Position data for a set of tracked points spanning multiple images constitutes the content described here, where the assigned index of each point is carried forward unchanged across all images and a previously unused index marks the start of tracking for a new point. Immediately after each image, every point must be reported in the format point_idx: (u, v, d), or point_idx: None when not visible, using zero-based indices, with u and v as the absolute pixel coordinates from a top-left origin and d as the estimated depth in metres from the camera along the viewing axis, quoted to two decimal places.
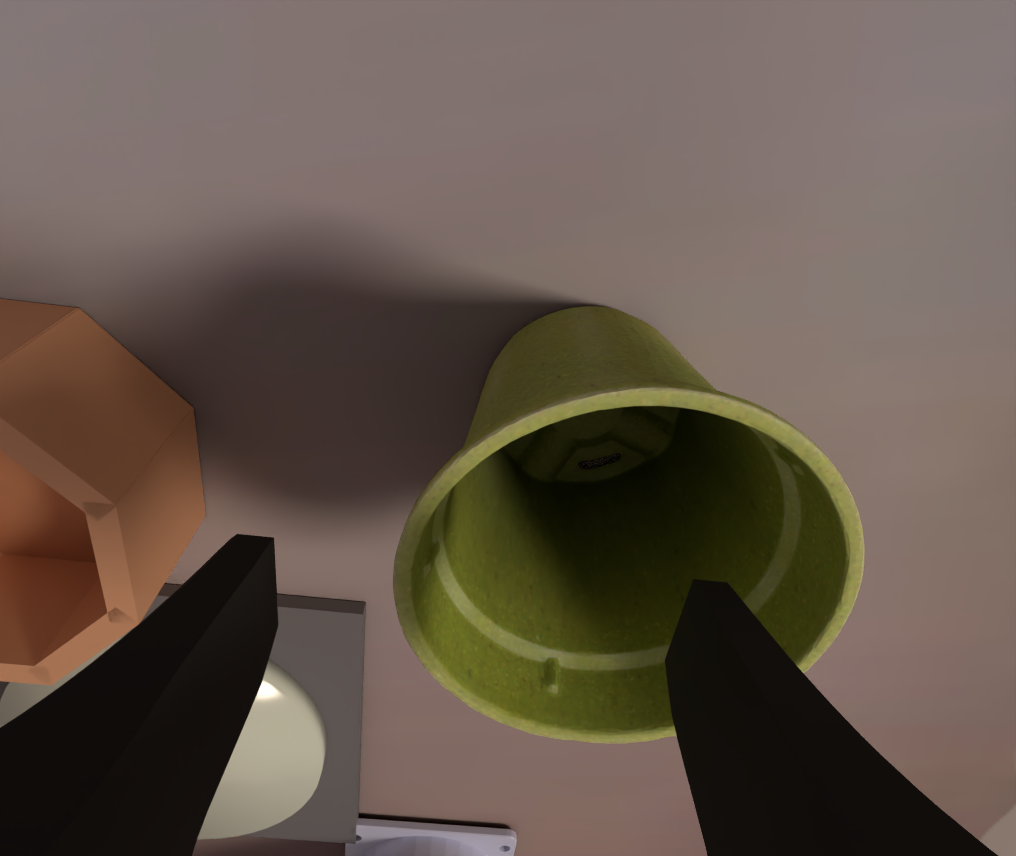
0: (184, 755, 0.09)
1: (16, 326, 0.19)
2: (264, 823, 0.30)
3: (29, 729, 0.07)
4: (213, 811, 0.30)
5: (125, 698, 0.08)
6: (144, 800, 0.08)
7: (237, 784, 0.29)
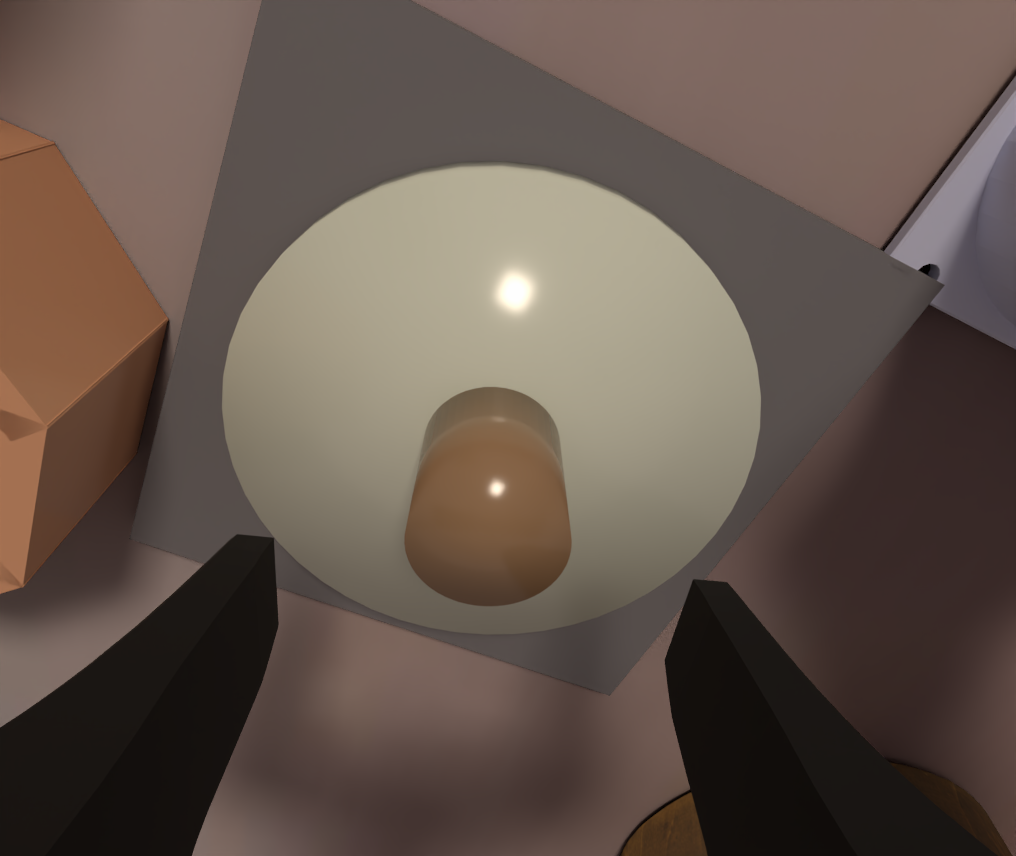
0: (182, 755, 0.09)
1: None
2: (745, 393, 0.16)
3: (29, 728, 0.07)
4: (671, 455, 0.17)
5: (125, 698, 0.08)
6: (144, 800, 0.08)
7: (619, 383, 0.16)
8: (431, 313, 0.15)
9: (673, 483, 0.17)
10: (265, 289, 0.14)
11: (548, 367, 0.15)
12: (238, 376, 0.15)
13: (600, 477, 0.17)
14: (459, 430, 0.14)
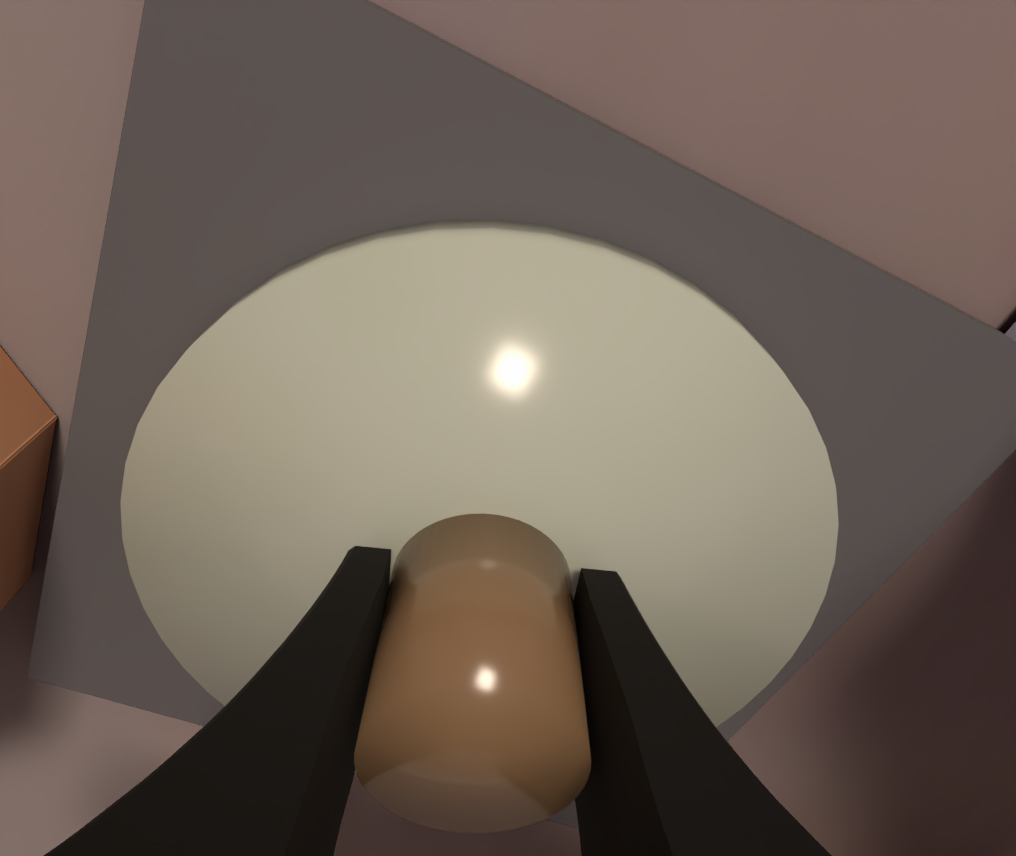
0: (335, 766, 0.09)
1: None
2: (818, 520, 0.12)
3: (217, 744, 0.07)
4: (717, 594, 0.13)
5: (298, 712, 0.08)
6: (317, 813, 0.08)
7: (650, 509, 0.12)
8: (397, 423, 0.11)
9: (718, 625, 0.13)
10: (167, 393, 0.11)
11: (556, 490, 0.11)
12: (141, 501, 0.12)
13: None
14: (434, 589, 0.10)
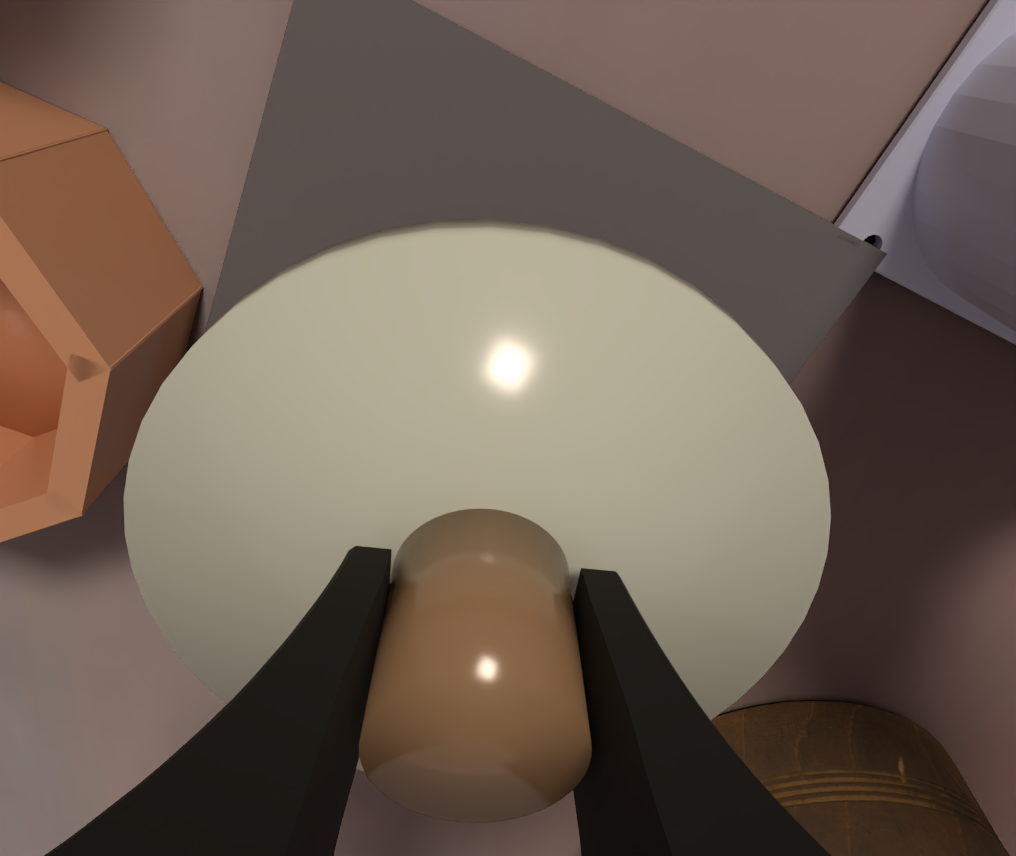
0: (336, 766, 0.09)
1: None
2: (811, 513, 0.12)
3: (218, 744, 0.07)
4: (712, 586, 0.13)
5: (298, 712, 0.08)
6: (317, 813, 0.08)
7: (647, 503, 0.12)
8: (398, 420, 0.11)
9: (713, 619, 0.13)
10: (171, 390, 0.11)
11: (554, 484, 0.12)
12: (144, 498, 0.12)
13: None
14: (436, 582, 0.11)
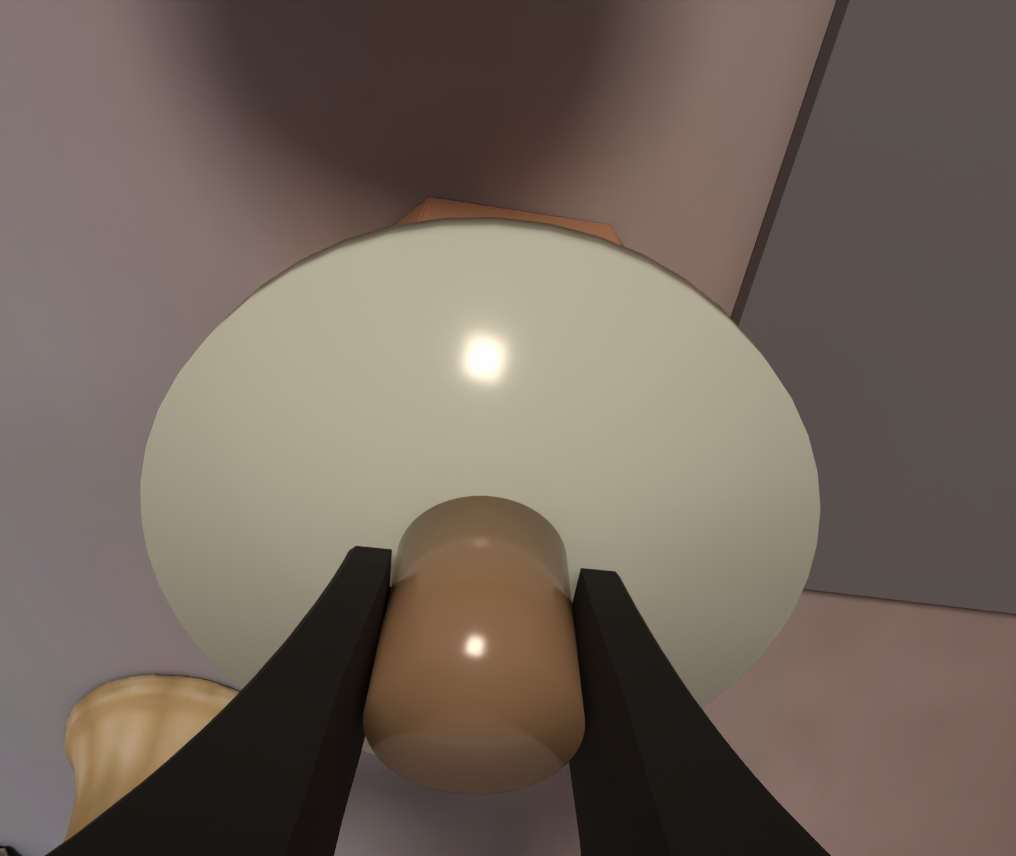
0: (336, 766, 0.09)
1: None
2: (801, 504, 0.12)
3: (218, 744, 0.07)
4: (705, 575, 0.13)
5: (299, 712, 0.08)
6: (318, 813, 0.08)
7: (642, 492, 0.12)
8: (404, 409, 0.11)
9: (707, 606, 0.14)
10: (188, 378, 0.11)
11: (553, 473, 0.12)
12: (160, 481, 0.12)
13: None
14: (438, 564, 0.11)
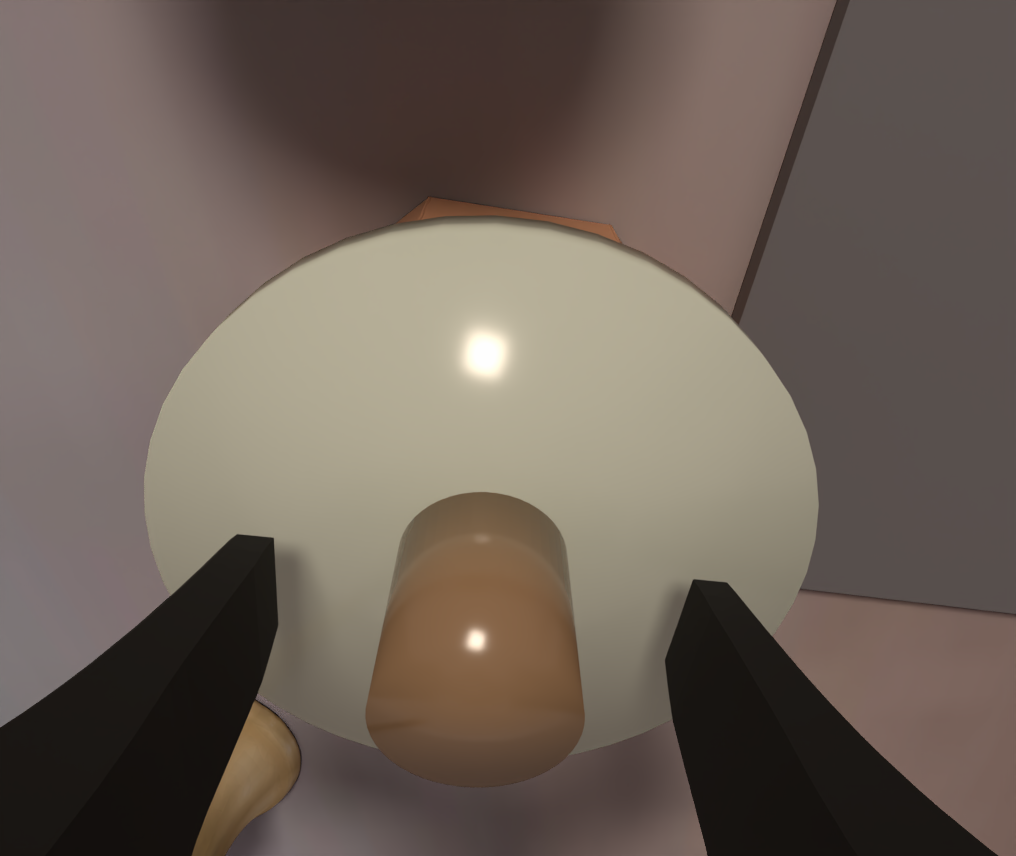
0: (183, 755, 0.09)
1: None
2: (799, 500, 0.13)
3: (29, 729, 0.07)
4: (705, 570, 0.13)
5: (125, 698, 0.08)
6: (144, 800, 0.08)
7: (642, 488, 0.12)
8: (405, 406, 0.12)
9: None
10: (191, 375, 0.11)
11: (554, 470, 0.12)
12: (163, 478, 0.12)
13: (616, 594, 0.14)
14: (440, 560, 0.11)
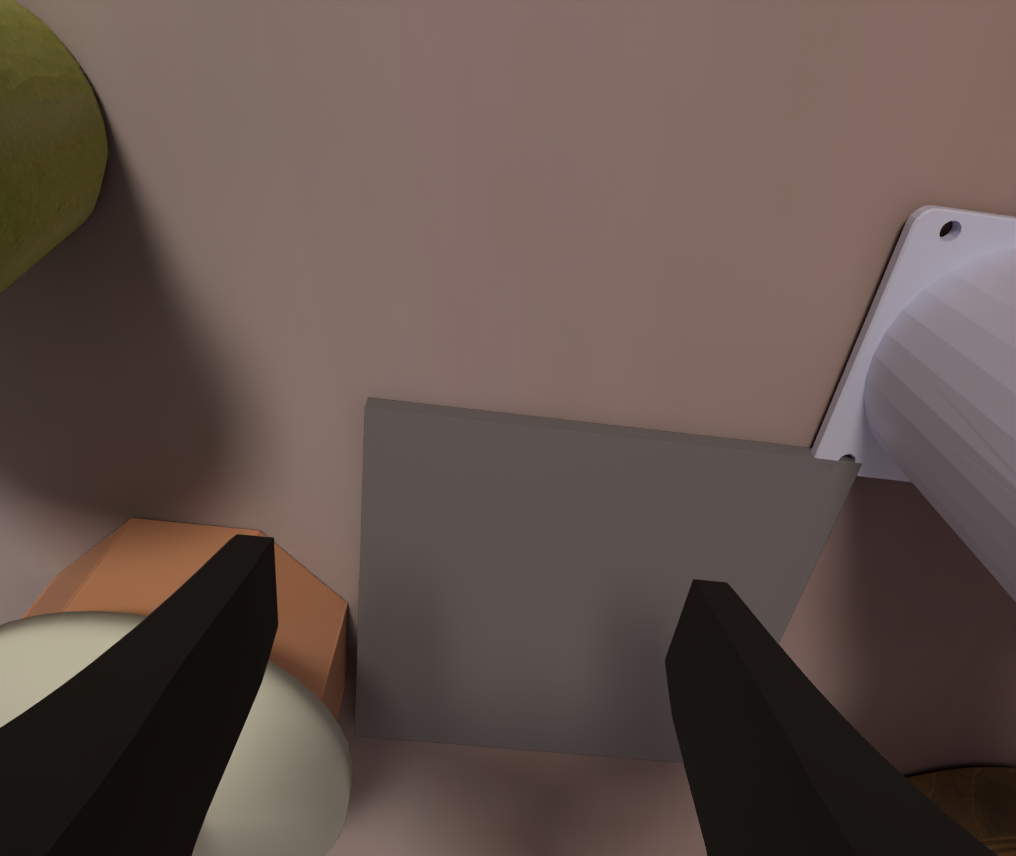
0: (184, 754, 0.09)
1: None
2: (320, 757, 0.20)
3: (28, 729, 0.07)
4: (280, 792, 0.21)
5: (125, 698, 0.08)
6: (144, 800, 0.08)
7: None
8: None
9: (289, 808, 0.21)
10: None
11: None
12: None
13: (229, 806, 0.21)
14: None
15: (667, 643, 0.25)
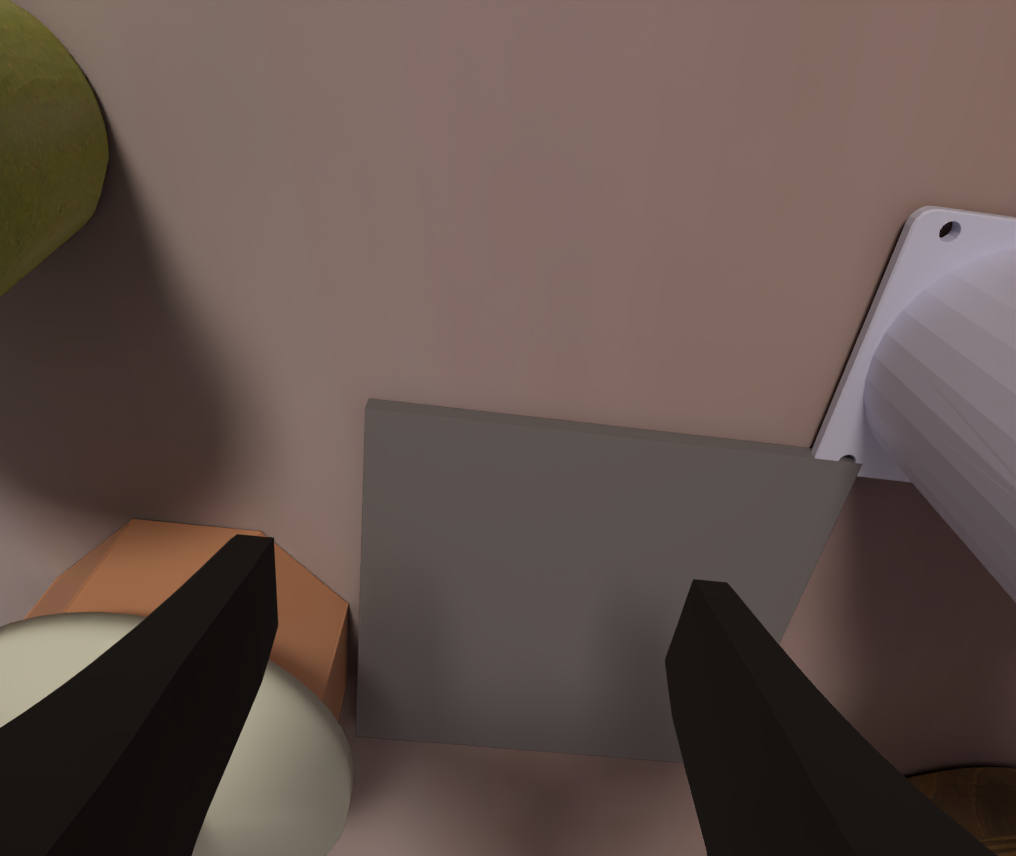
0: (184, 755, 0.09)
1: None
2: (321, 757, 0.20)
3: (29, 728, 0.07)
4: (281, 792, 0.21)
5: (125, 698, 0.08)
6: (144, 800, 0.08)
7: None
8: None
9: (291, 808, 0.21)
10: None
11: None
12: None
13: (230, 806, 0.21)
14: None
15: (668, 643, 0.25)
